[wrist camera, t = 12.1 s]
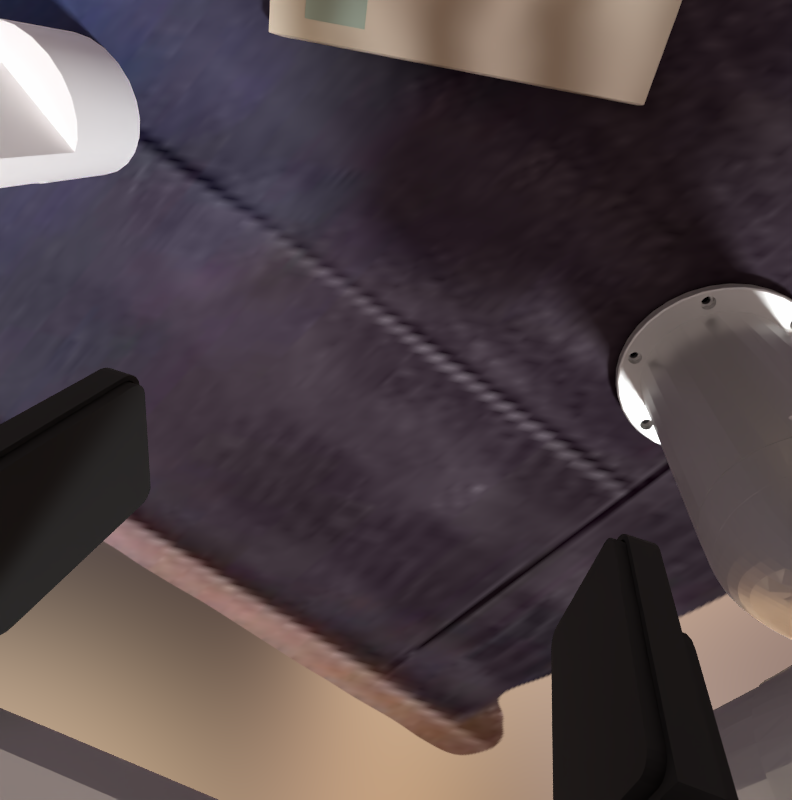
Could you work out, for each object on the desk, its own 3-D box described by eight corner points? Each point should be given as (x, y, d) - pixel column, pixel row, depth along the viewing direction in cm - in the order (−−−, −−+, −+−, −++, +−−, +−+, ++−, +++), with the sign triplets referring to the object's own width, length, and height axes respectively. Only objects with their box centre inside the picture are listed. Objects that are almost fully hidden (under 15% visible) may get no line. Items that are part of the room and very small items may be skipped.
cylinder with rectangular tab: (163, 124, 36) (21, 128, 26) (95, 198, 40) (-52, 227, 30) (69, -3, 34) (-129, -54, 24) (6, 90, 38) (-188, 81, 28)
